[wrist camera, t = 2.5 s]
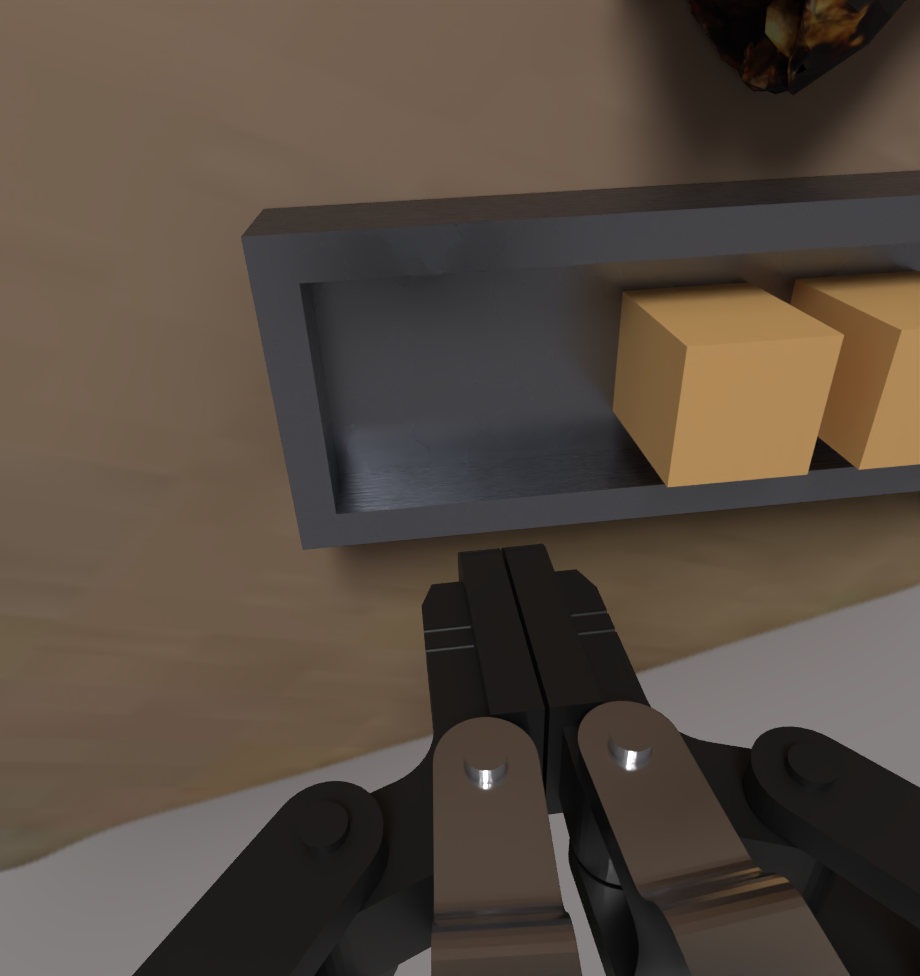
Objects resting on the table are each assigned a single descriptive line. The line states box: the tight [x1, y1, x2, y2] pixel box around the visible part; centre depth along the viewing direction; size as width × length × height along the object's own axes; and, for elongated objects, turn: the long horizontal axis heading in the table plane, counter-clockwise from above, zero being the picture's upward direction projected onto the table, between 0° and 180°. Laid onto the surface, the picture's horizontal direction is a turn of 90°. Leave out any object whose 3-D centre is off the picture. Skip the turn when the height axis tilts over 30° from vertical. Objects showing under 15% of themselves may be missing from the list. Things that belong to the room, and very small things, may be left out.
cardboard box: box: [790, 271, 920, 470], centre depth 20 cm, size 4×4×5 cm
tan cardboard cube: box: [613, 282, 844, 487], centre depth 20 cm, size 4×4×5 cm
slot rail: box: [241, 171, 920, 550], centre depth 21 cm, size 23×9×4 cm, turn 92°
